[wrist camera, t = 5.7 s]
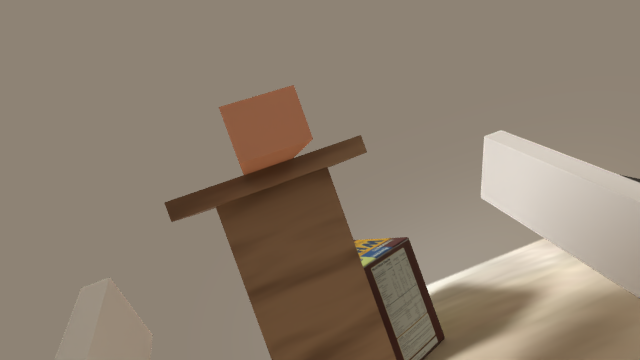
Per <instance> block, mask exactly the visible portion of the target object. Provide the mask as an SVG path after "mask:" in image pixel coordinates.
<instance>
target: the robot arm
mask: <svg viewBox="0 0 640 360" xmlns="http://www.w3.org/2000/svg"><path fill="white" fill-rule="evenodd" d="M481 198H482V199H484V200H485V201H487V202H489V203H490V204H492V205H493V206H495V207H496V208H498V209H500V210H501V211H503V212H504V213H506V214H507V215H509V216H510V217H512V218H514V219H515V220H517V221H519V222H520V223H522V224H523V225H525V226H526V227H528V228H530V229H531V230H533V231H534V232H536V233H537V234H539V235H540V236H542V237H544V238H545V239H547V240H548V241H550V242H551V243H553V244H555V245H556V246H558V247H559V248H561V249H562V250H564V251H566V252H567V253H569V254H570V255H572V256H573V257H575V258H577V259H578V260H580V261H581V262H583V263H584V264H586V265H588V266H589V267H591V268H592V269H594V270H595V271H597V272H599V273H600V274H602V275H603V276H605V277H607V278H608V279H610V280H611V281H613V282H614V283H616V284H618V285H619V286H621V287H622V288H624V289H625V290H627V291H629V292H630V293H632V294H633V295H635V296H636V297H638V298H640V179H637V178H632V177H627V176H622V175H618V174H615V173H613V172H610V171H607V170H605V169H602V168H600V167H597V166H594V165H591V164H589V163H586V162H584V161H581V160H578V159H576V158H573V157H571V156H568V155H565V154H563V153H560V152H557V151H555V150H552V149H549V148H547V147H544V146H542V145H539V144H536V143H534V142H531V141H529V140H526V139H523V138H521V137H518V136H515V135H513V134H510V133H508V132H505V131H502V130H500V131H498V132H495V133H492V134H489V135H487V136H485V137H484V150H483V166H482V183H481ZM152 336H153V335H152V334H151V332H150V331H149V329H148V328H147V327H146V326H145V324H144V323H143V321H142V320H141V319H140V318H139V316H138V315H137V314H136V312H135V311H134V309H133V308H132V307H131V305H130V304H129V303H128V301H127V300H126V299H125V297H124V296H123V294H122V293H121V292H120V290H119V289H118V288H117V286H116V285H115V284H114V282H113V281H112V280H111V278H110V277H109V278H106V279H103V280H101V281H98V282H96V283H93V284H90V285H87V286H85V287H82V288H81V290H80V293H79V296H78V298H77V301H76V304H75V306H74V309H73V312H72V314H71V317H70V320H69V323H68V325H67V328H66V331H65V333H64V336H63V339H62V341H61V344H60V347H59V350H58V352H57V355H56V357H55V360H150V356H151V347H152Z"/></svg>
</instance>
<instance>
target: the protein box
mask: <svg viewBox="0 0 640 360" xmlns="http://www.w3.org/2000/svg"><path fill="white" fill-rule="evenodd" d="M354 243H355V246H356V249H357V251H358V254H359V257H360V260H361V263H362V265H363V268H364V271H365V274H366V276H367V279H368V282H369V285H370V288H371V290H372V293H373V296H374V299H375V301H376V304H377V307H378V310H379V313H380V315H381V318H382V321H383V324H384V327H385V329H386V332H387V335H388V338H389V340H390V343H391V346H392V349H393V352H394V354H395V357H396V360H423V359H424V358H425V357H426V356H427V355H428V354H429V353H430V352H431V351H432V350H433V349H434V348H435V347H436V346H437V345H438V344H439V343H440V342H441V341H442V340H443V339H444V334H443V331H442V329H441V326H440V323H439V320H438V318H437V315H436V312H435V310H434V307H433V304H432V301H431V298H430V296H429V293H428V290H427V288H426V285H425V282H424V280H423V276H422V274H421V271H420V268H419V265H418V263H417V260H416V258H415V254H414V252H413V249H412V246H411V243H410V241H409V238H407V237H404V238H386V239H369V240H368V239H366V240H354Z"/></svg>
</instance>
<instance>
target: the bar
mask: <svg viewBox="0 0 640 360" xmlns="http://www.w3.org/2000/svg"><path fill="white" fill-rule="evenodd" d="M219 109H220V112H221V114H222V117H223V120H224V123H225V125H226V128H227V131H228V134H229V136H230V139H231V142H232V144H233V147H234V150H235V153H236V156H237V158H238V161H239V164H240V166H241V169H242V171H243V174H244V175H246V174H249V173H252V172H255V171H258V170H261V169H264V168H267V167H270V166H272V165H275V164H278V163H281V162H284V161H287V160H290V159H293V158H294V157H295V156H296V155H297V154H298V153H299V152H300V151H301V150H302V149H303V148H304V147H305V146H306V145H307V144H308V143H309V142H310V141H311V140H312V139H313V138H312V135H311V132H310V129H309V127H308V124H307V121H306V118H305V115H304V113H303V110H302V107H301V104H300V101H299V99H298V96H297V93H296V90H295V88H294V85H292V86H289V87H285V88H282V89H279V90H276V91H272V92H268V93H265V94H262V95H258V96H255V97H252V98H249V99H245V100H242V101H238V102H235V103H231V104H228V105H225V106H221V107H219Z"/></svg>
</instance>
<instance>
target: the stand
mask: <svg viewBox="0 0 640 360" xmlns="http://www.w3.org/2000/svg"><path fill="white" fill-rule="evenodd" d="M366 152H367V151H366V148H365V145H364V143H363V140H362V137H361V135H360V136H357V137H354V138H351V139H348V140H345V141H342V142H339V143H337V144H334V145H331V146H328V147H325V148H322V149H319V150H316V151H313V152H310V153H307V154H305V155H302V156H299V157H296V158H293V159H290V160H287V161H284V162H281V163H278V164H275V165H272V166H270V167H267V168H264V169H261V170H258V171H255V172H252V173H249V174H246V175H243V176H240V177H238V178H235V179H232V180H229V181H226V182H223V183H220V184H217V185H215V186H211V187H208V188H206V189H203V190H200V191H197V192H194V193H191V194H188V195H185V196H182V197H179V198H177V199H174V200H171V201H168V202H165V205H166V208H167V211H168V214H169V216H170V219H171V221H172V222H173V221H176V220H179V219H183V218H186V217H190V216H193V215H196V214H199V213H202V212H205V211H208V210H210V209H213V208H216V209H217V212H218V214H219V217H220V219H221V223H222V225H223V228H224V230H225V233H226V236H227V239H228V241H229V244H230V247H231V250H232V253H233V255H234V258H235V261H236V263H237V266H238V269H239V271H240V274H241V277H242V280H243V282H244V285H245V288H246V290H247V293H248V296H249V299H250V302H251V304H252V307H253V310H254V313H255V315H256V318H257V321H258V323H259V326H260V329H261V332H262V334H263V337H264V340H265V343H266V345H267V348H268V351H269V353H270V356H271V358H272V360H396V357H395V354H394V352H393V349H392V346H391V343H390V340H389V338H388V335H387V332H386V329H385V327H384V324H383V321H382V318H381V315H380V313H379V310H378V307H377V304H376V301H375V299H374V296H373V293H372V290H371V288H370V285H369V282H368V279H367V276H366V274H365V271H364V268H363V265H362V263H361V260H360V257H359V254H358V251H357V249H356V246H355V243H354V240H353V237H352V235H351V232H350V229H349V226H348V224H347V221H346V218H345V216H344V213H343V210H342V207H341V204H340V201H339V199H338V196H337V193H336V190H335V187H334V185H333V182H332V179H331V176H330V173H329V171H328V167H331V166H333V165H336V164H338V163H341V162H344V161H346V160H348V159H351V158H354V157H356V156H358V155H361V154H364V153H366Z"/></svg>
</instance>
